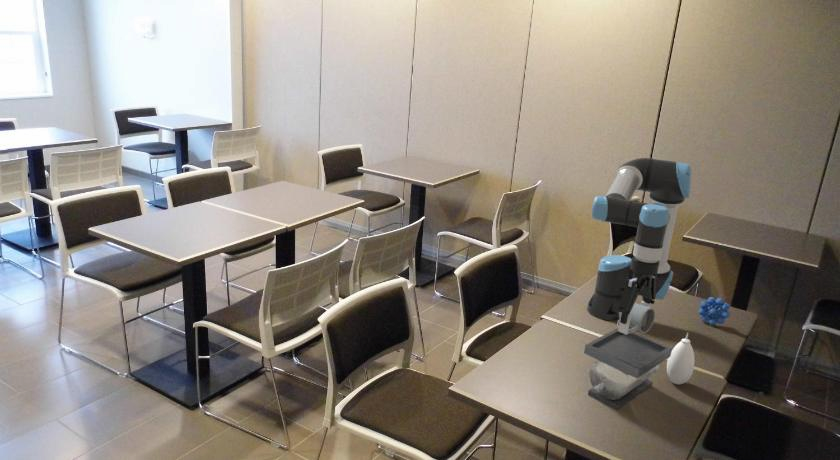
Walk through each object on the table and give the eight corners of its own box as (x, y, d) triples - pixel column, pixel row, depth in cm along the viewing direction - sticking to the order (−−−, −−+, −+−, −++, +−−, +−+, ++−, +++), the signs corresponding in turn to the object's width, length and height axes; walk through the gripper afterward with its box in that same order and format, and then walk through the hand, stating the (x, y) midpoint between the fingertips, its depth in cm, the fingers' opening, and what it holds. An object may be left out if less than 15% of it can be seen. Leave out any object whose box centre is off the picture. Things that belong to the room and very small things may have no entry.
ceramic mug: (628, 318, 187) (632, 296, 184) (653, 329, 181) (657, 306, 178) (609, 328, 180) (613, 305, 178) (633, 339, 174) (637, 315, 172)
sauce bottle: (663, 385, 191) (674, 335, 185) (663, 373, 198) (674, 324, 192) (690, 392, 188) (702, 340, 183) (689, 379, 195) (700, 330, 190)
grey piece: (613, 367, 200) (620, 326, 195) (663, 391, 188) (672, 348, 183) (577, 389, 186) (584, 345, 181) (628, 416, 174) (638, 370, 169)
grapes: (730, 327, 235) (737, 299, 231) (723, 332, 230) (730, 303, 226) (700, 316, 243) (707, 289, 239) (693, 321, 238) (699, 293, 234)
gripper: (653, 247, 183) (640, 312, 190) (613, 262, 168) (600, 333, 175) (676, 254, 178) (662, 321, 185) (637, 270, 163) (624, 343, 170)
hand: (632, 327), depth 180 cm, fingers closed on ceramic mug, 11 cm apart
